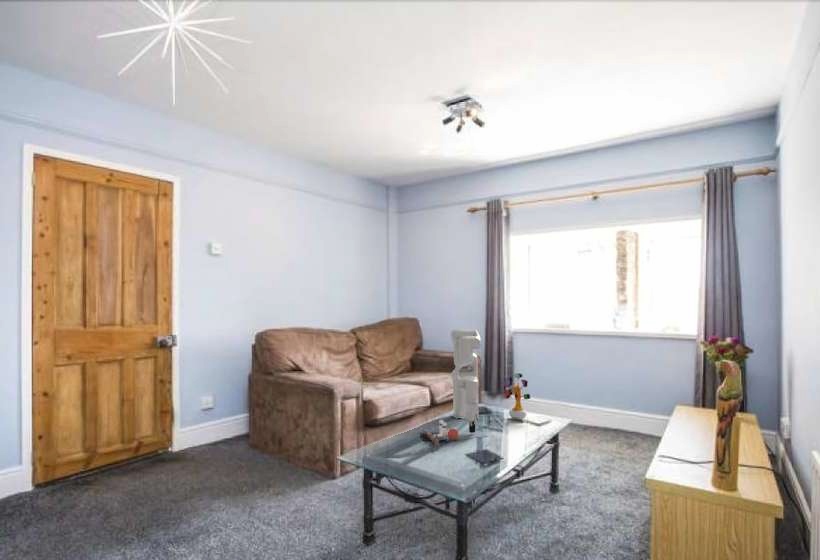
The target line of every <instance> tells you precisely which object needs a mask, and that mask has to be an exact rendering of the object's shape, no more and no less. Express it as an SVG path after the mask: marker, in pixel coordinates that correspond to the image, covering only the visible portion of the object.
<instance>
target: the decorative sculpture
mask: <svg viewBox="0 0 820 560" xmlns="http://www.w3.org/2000/svg"><path fill="white" fill-rule="evenodd" d="M514 378H516V379H517V380H519V379H520V378H523V374H522V373H515V374H514ZM520 381H521V383H522V386H519V384H517V385H516V384H515V383H514V382H513V377H506V378H504V382H503V386H504V387H505V388H508V389H507V390H506V392H505V393H504V398H505V399H506V400H507V399H510V398H511V395H513V394H514V399H515V405H514V407H512V408H510V409H509V410H508V414H509V417H510V418H512V419H513V420H515V419H516V421H523V420H524V419H525V418H526V417H527V411H526V410H525V409H524V408H523V406H522V403H521V399H522V398H523V400H529V399H531V395H530V393H525V394H523V395H522V393H521V392H522V391H521V390H522V389H523V388H526V387H528V382H529V381H528V380H527V379H521V380H520ZM511 386H512V389H511V388H509V387H511Z"/></svg>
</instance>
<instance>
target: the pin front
mask: <svg viewBox="0 0 820 560" xmlns="http://www.w3.org/2000/svg"><path fill="white" fill-rule="evenodd" d="M432 435H433V436H435V437H436V438H437V437H442V434H439V433H437V434H436V433H435V434H432ZM447 437H448V432H447Z"/></svg>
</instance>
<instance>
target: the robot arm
mask: <svg viewBox="0 0 820 560" xmlns="http://www.w3.org/2000/svg"><path fill="white" fill-rule="evenodd" d="M450 338H451V341H452V344H453V363H454V366H455V367H454V369H453V370H452V372H451V379H452V395H453V396H452V398H453V399H452V400H453V401H452V403H453V407H452V408H453V409H452V410H453V412H452V413H450V416H453V417H455V418H454V419H457V418H461V419H460V420H462V419H463V420H467V421H468V426H469V427H468V428H469V429H468V432H470V433H474V432H475V431H476V425H478V422H479V418H480V416H479V415H480V414H479V413H480V412H479V411H480V410H479V384H480V382H479V377H478V376H479V360H478V358H479V357H478V355H477V354H476V353H474V351H473V350H480V349H481V348H482V340H481V336H480V334H479V332H478V330H477V329H474V328H467V329H466V328H457V329H453V330H451V332H450ZM453 417H452V418H453Z"/></svg>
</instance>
